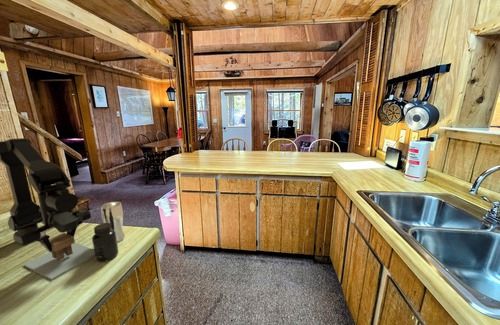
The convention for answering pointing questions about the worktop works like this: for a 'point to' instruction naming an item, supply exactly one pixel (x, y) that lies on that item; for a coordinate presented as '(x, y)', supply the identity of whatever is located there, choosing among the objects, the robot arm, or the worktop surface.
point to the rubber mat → (60, 262)
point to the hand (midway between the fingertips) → (61, 246)
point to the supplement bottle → (104, 242)
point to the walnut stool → (61, 245)
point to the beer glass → (114, 218)
